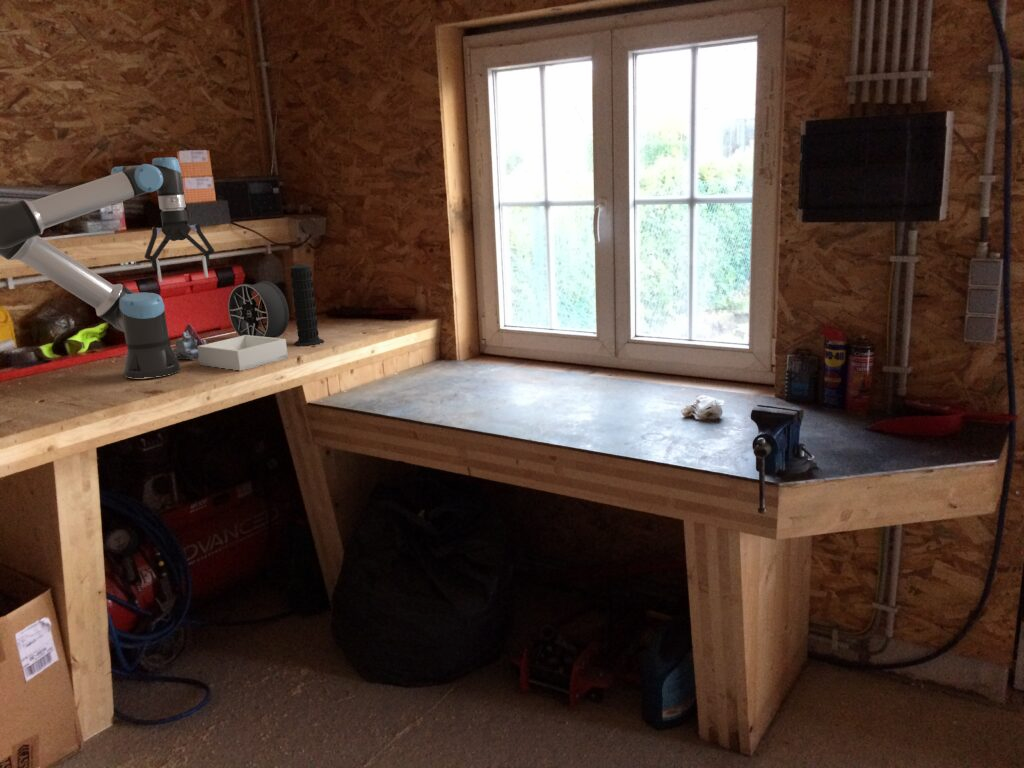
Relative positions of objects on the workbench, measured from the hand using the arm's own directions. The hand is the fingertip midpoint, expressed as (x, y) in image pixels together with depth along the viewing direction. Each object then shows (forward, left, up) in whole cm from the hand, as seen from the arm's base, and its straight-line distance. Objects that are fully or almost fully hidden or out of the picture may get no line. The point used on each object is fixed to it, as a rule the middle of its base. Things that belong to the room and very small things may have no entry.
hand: (183, 279), depth 267 cm
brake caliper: (-1, 0, -25) cm, 25 cm away
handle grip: (+36, -3, -25) cm, 44 cm away
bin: (+12, -18, -25) cm, 33 cm away
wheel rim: (+24, +14, -25) cm, 37 cm away
